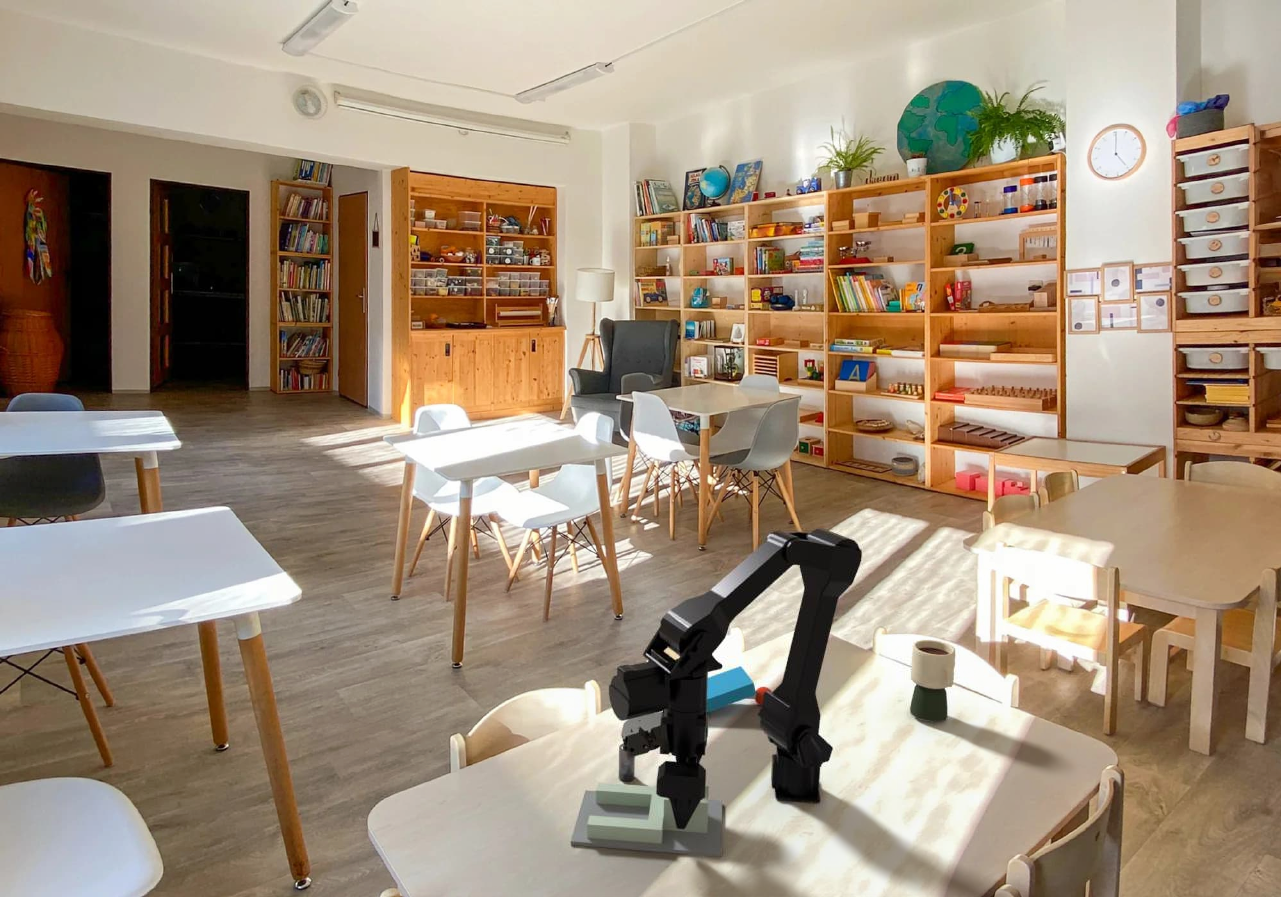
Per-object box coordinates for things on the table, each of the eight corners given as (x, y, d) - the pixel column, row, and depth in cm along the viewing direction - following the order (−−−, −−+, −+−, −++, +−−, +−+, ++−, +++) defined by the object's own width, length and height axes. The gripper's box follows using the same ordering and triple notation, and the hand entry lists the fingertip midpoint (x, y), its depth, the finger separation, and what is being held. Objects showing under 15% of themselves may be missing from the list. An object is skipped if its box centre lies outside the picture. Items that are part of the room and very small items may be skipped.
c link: (708, 803, 123) (709, 774, 122) (706, 847, 113) (707, 816, 112) (597, 795, 124) (598, 766, 124) (587, 837, 115) (587, 807, 114)
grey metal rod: (635, 773, 131) (635, 743, 130) (633, 782, 129) (634, 751, 128) (619, 772, 131) (620, 742, 130) (617, 781, 129) (618, 750, 128)
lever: (686, 745, 149) (781, 710, 152) (676, 710, 147) (773, 675, 150) (676, 725, 156) (767, 692, 158) (667, 692, 154) (759, 659, 157)
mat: (722, 803, 124) (722, 800, 124) (721, 856, 112) (721, 853, 112) (585, 793, 126) (585, 790, 126) (570, 844, 114) (570, 841, 114)
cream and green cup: (965, 729, 147) (972, 658, 144) (929, 734, 145) (935, 662, 142) (927, 700, 157) (932, 633, 155) (893, 705, 155) (898, 637, 153)
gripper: (633, 669, 125) (631, 767, 128) (617, 733, 107) (616, 846, 110) (709, 674, 124) (706, 772, 127) (706, 739, 106) (703, 853, 109)
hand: (682, 808), depth 118 cm, fingers open, 9 cm apart
